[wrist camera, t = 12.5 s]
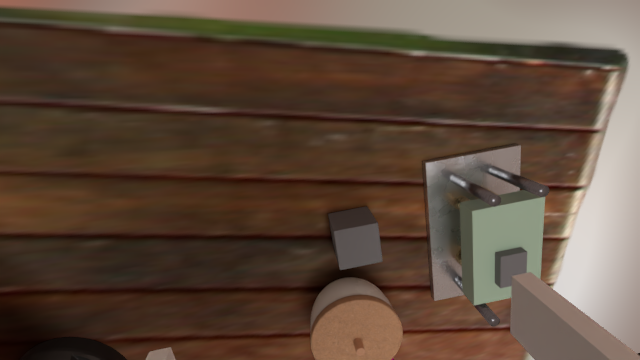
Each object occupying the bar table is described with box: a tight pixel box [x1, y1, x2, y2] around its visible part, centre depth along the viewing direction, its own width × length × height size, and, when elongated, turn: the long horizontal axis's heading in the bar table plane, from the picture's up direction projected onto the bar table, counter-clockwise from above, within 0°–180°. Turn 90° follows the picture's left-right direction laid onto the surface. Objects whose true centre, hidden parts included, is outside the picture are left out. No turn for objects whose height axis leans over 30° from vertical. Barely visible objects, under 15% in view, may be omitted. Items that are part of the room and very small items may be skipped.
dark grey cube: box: [328, 206, 382, 270], centre depth 38 cm, size 5×5×5 cm
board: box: [460, 190, 545, 305], centre depth 36 cm, size 8×12×4 cm, turn 9°
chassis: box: [422, 144, 549, 326], centre depth 38 cm, size 12×20×9 cm, turn 9°
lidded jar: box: [310, 277, 403, 360], centre depth 39 cm, size 11×11×9 cm
